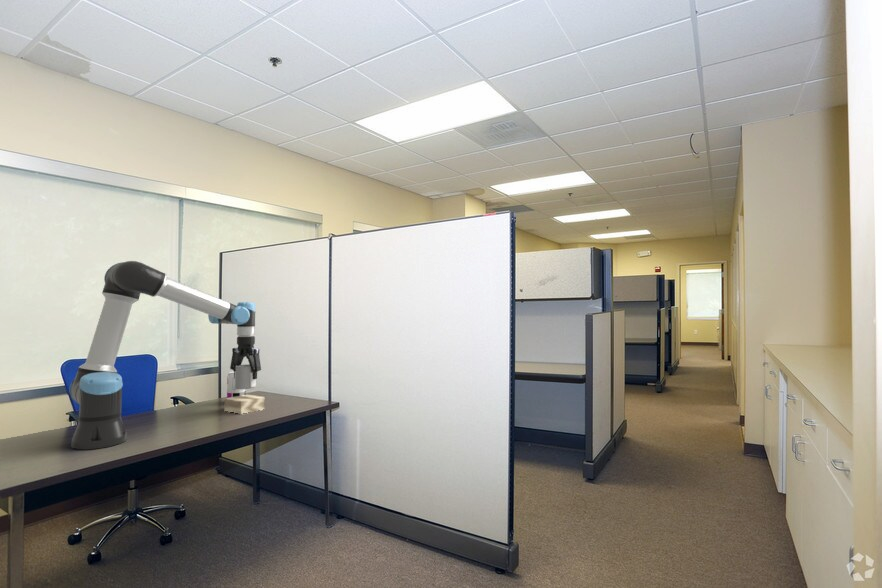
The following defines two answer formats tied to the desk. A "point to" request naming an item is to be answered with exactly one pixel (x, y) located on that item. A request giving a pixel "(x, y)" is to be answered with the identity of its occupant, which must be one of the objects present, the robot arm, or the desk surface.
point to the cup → (243, 377)
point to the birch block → (244, 404)
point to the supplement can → (233, 387)
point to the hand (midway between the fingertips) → (245, 385)
